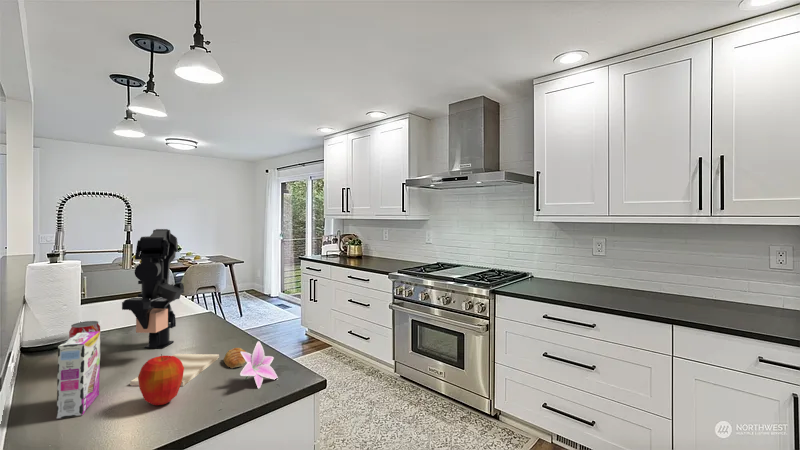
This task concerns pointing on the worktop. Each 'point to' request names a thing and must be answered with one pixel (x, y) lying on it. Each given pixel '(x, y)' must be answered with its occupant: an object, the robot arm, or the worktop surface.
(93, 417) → the worktop surface
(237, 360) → the pastry
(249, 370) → the lily
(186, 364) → the birch board
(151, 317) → the terracotta cube
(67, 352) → the candy bar box
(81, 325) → the soda can
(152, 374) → the apple
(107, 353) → the worktop surface
